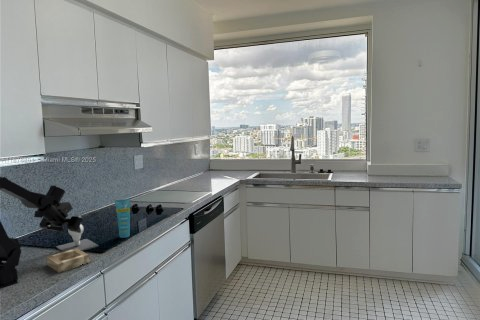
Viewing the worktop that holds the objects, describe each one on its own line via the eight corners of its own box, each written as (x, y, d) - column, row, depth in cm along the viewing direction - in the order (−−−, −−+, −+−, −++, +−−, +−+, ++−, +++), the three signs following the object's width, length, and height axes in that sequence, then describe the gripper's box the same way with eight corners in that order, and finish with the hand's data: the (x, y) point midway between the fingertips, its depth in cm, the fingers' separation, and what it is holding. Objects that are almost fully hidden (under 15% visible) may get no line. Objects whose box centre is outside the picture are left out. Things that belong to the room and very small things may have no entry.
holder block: (58, 272, 133) (57, 264, 133) (47, 264, 141) (46, 256, 141) (89, 262, 142) (88, 254, 142) (77, 256, 150) (76, 248, 150)
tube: (118, 239, 171) (115, 201, 169) (116, 236, 175) (113, 199, 173) (133, 236, 174) (130, 199, 172) (131, 233, 178) (129, 197, 176)
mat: (66, 255, 151) (66, 253, 151) (56, 247, 161) (56, 246, 161) (98, 246, 161) (98, 245, 161) (86, 239, 171) (86, 238, 171)
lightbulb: (82, 247, 158) (80, 224, 157) (67, 248, 158) (65, 225, 156) (86, 243, 165) (84, 220, 163) (72, 244, 164) (70, 221, 163)
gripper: (78, 198, 149) (96, 216, 160) (42, 197, 153) (62, 215, 165) (66, 221, 142) (86, 238, 153) (29, 219, 146) (51, 236, 158)
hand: (71, 231), depth 158 cm, fingers open, 9 cm apart
